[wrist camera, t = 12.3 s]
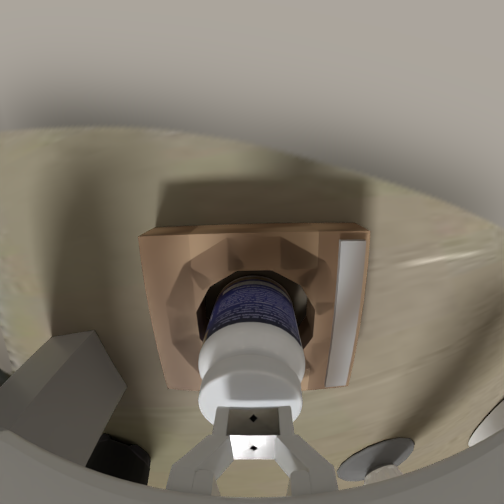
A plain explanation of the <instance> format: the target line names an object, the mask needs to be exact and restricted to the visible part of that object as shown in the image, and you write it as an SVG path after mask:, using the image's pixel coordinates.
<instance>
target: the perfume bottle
mask: <svg viewBox="0 0 504 504" xmlns="http://www.w3.org/2000/svg"><path fill="white" fill-rule="evenodd" d="M126 388H127V386H126V384H125V382H124V381H123V379H122V378H121V376H120V374H119V373H118V371H117V370H116V368H115V366H114V364H113V363H112V361H111V359H110V358H109V356H108V354H107V352H106V351H105V349H104V347H103V345H102V343H101V341H100V340H99V338H98V336H97V334H96V332H95V330H92V331H86V332H80V333H74V334H68V335H62V336H55V337H51V338H50V339H49V340H48V341H47V342H46V343H45V344H44V345H43V346H41V347H40V348H39V349H38V350H37V351H36V352H35V353H34V354H33V355H32V356H31V357H30V358H29V359H28V360H27V361H26V362H25V363H24V364H23V365H22V366H21V367H20V368H19V369H18V370H17V371H16V372H15V373H14V374H13V375H12V376H11V377H10V378H9V379H8V380H7V381H6V382H5V383H4V384H3V385H2V386H1V387H0V431H3V430H9V431H11V432H13V433H15V434H17V435H18V436H20V437H22V438H24V439H25V440H27V441H29V442H31V443H33V444H35V445H37V446H38V447H40V448H42V449H44V450H46V451H49V452H51V453H53V454H55V455H57V456H59V457H62V458H64V459H66V460H69V461H71V462H73V463H76V464H78V465H81V466H84V467H85V466H86V464H87V462H88V460H89V458H90V456H91V454H92V452H93V450H94V448H95V446H96V444H97V442H98V440H99V438H100V436H101V434H102V432H103V430H104V429H105V427H106V425H107V423H108V421H109V419H110V417H111V415H112V414H113V412H114V410H115V408H116V406H117V404H118V402H119V401H120V399H121V397H122V395H123V393H124V391H125V390H126Z"/></svg>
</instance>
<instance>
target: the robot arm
mask: <svg viewBox="0 0 504 504" xmlns="http://www.w3.org/2000/svg"><path fill="white" fill-rule="evenodd" d="M468 445H469V446H470V447H469V448H467V449H465V450H463V451H461V452H459V453H457V454H454V455H452V456H450V457H448V458H446V459H443V460H441V461H438V462H436V463H434V464H431V465H428V466H426V467H423V468H421V469H418V470H415V471H412V472H409V473H406V474H403V475H400V476H397V477H393V478H390V479H386V480H383V481H379V482H375V483H371V484H367V485H363V486H358V487H354V488H349V489H343V490H338V485H337V480H336V476H335V471H334V466H333V465H332V464H330V463H329V462H328V461H327V460H326V459H325V458H323V457H322V456H321V455H320V454H319V453H318V452H317V451H316V450H314V449H313V448H312V447H311V446H310V445H309V444H308V443H307V442H306V441H304V440H303V439H302V438H301V437H300V436H299V435H294V427H293V419H292V411H291V407H290V406H273V407H225V406H218V407H217V409H216V414H215V420H214V426H213V432H212V435H208V436H207V437H205V438H204V439H203V440H202V441H201V442H200V443H198V444H197V445H196V446H195V447H194V448H193V449H191V450H190V451H189V452H188V453H187V454H185V455H184V456H183V457H182V458H181V459H179V460H178V461H177V462H176V463H174V464H173V465H172V468H171V471H170V475H169V479H168V482H167V486H166V489H161V488H156V487H151V486H147V485H143V484H138V483H134V482H131V481H127V480H123V479H120V478H116V477H113V476H110V475H106V474H103V473H100V472H97V471H95V470H92V469H89V468H86V467H84V466H81V465H78V464H76V463H73V462H71V461H69V460H66V459H64V458H62V457H59V456H57V455H55V454H53V453H51V452H49V451H46V450H44V449H42V448H40V447H38V446H37V445H35V444H33V443H31V442H29V441H27V440H25V439H24V438H22V437H20V436H18V435H17V434H15V433H13V432H11V431H9V430H3V431H0V504H504V400H503V401H502V402H501V403H500V404H499V405H498V406H497V407H496V408H495V409H494V410H493V411H492V412H491V413H490V414H489V415H488V416H487V417H486V418H485V420H484V421H483V422H482V423H481V424H480V425H479V427H478V428H477V429H476V431H475V432H474V433H473V435H472V436H471V438H470V440H469V443H468ZM234 459H275V461H276V462H277V463H278V464H279V466H280V467H281V468H282V469H283V471H284V472H285V473H286V474H287V475H288V477H289V478H290V479H289V484H288V490H287V495H286V497H224V496H221V495H220V492H219V489H218V486H217V482H216V480H217V479H218V478H219V477H220V476H221V474H222V473H223V472H224V471H225V470H226V469H227V468H228V466H229V465H230V464H231V463H232V462H233V460H234Z"/></svg>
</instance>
